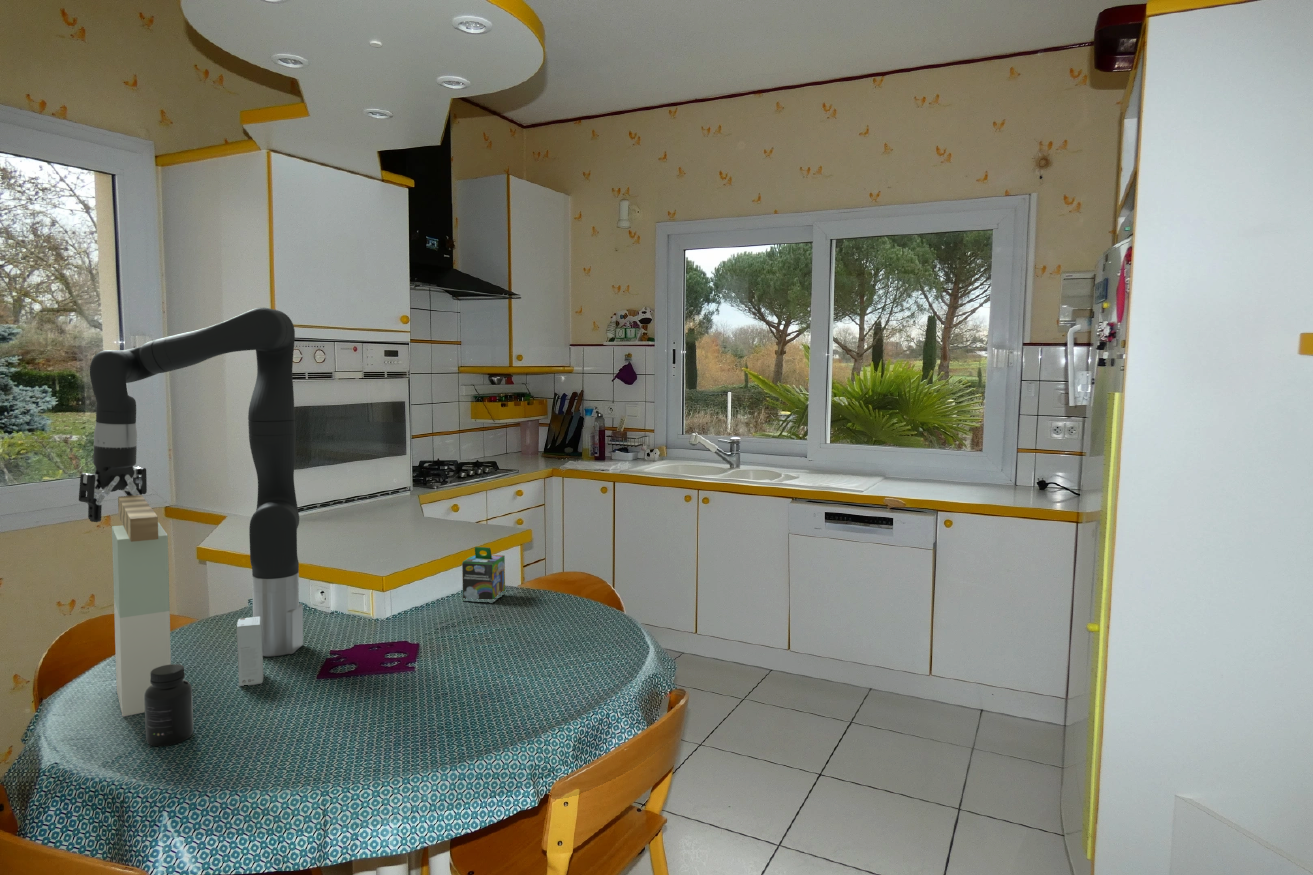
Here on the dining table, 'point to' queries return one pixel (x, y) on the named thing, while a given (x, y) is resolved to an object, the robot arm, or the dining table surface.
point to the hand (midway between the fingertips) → (113, 518)
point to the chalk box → (483, 575)
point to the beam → (138, 518)
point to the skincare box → (249, 651)
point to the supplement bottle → (168, 706)
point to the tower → (140, 614)
